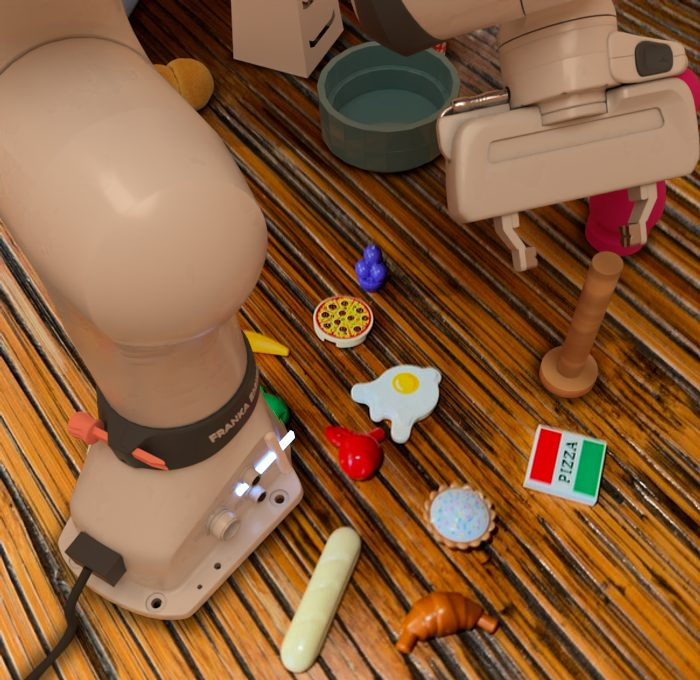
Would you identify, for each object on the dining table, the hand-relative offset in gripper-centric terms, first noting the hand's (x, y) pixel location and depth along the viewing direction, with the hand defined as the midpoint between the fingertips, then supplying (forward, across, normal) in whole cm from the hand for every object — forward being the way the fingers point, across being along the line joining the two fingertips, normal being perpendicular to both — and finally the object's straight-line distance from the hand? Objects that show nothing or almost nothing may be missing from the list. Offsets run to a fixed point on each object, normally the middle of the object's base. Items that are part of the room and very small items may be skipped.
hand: (580, 257), depth 63 cm
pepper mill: (0, +11, +17) cm, 20 cm away
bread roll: (-25, -30, +42) cm, 58 cm away
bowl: (-16, -7, +32) cm, 37 cm away
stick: (+11, 0, +6) cm, 12 cm away
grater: (-30, -15, +46) cm, 57 cm away
